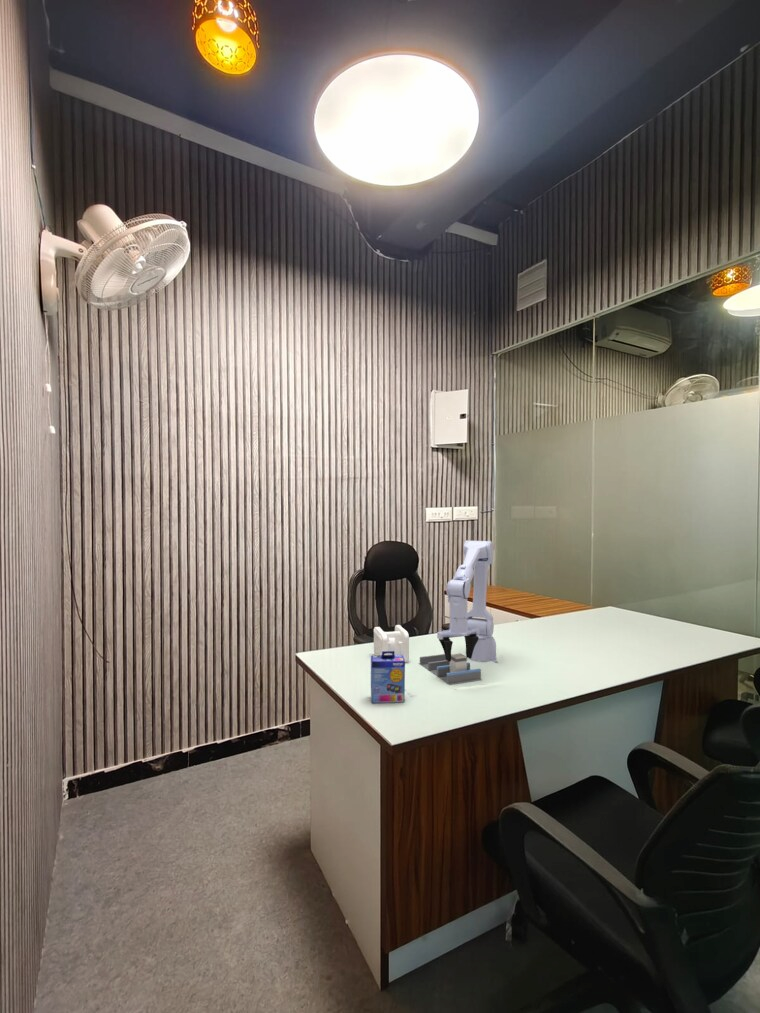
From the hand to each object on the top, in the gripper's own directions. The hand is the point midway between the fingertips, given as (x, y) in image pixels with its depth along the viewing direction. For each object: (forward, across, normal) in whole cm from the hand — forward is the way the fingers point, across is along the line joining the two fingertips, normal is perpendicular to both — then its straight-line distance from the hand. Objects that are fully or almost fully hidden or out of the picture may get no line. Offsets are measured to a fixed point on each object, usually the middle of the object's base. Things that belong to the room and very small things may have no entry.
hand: (458, 659), depth 147 cm
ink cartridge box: (+7, -27, -6) cm, 29 cm away
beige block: (+6, 0, 0) cm, 6 cm away
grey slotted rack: (+7, 0, +6) cm, 9 cm away
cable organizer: (+7, -13, +26) cm, 30 cm away
